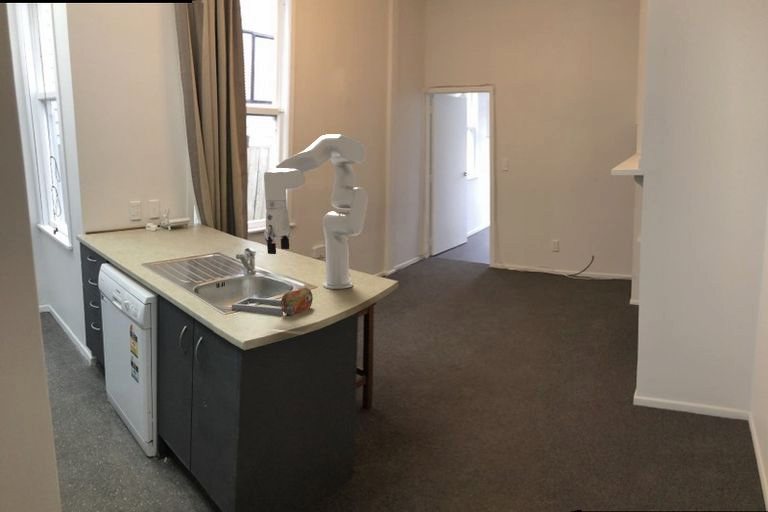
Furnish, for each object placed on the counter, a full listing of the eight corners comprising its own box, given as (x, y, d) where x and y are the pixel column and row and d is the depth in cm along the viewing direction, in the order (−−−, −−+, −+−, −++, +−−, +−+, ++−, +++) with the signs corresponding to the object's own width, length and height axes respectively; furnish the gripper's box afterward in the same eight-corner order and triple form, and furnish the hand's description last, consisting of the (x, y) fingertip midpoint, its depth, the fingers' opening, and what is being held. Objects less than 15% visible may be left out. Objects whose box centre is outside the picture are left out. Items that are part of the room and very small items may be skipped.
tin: (286, 317, 206) (285, 294, 204) (279, 316, 207) (279, 293, 206) (313, 308, 218) (313, 286, 217) (307, 307, 220) (306, 285, 218)
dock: (248, 303, 225) (248, 297, 225) (295, 307, 219) (295, 301, 218) (232, 311, 214) (231, 304, 214) (281, 315, 208) (281, 308, 208)
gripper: (273, 207, 202) (275, 256, 205) (296, 202, 218) (298, 247, 221) (254, 207, 205) (257, 255, 208) (278, 202, 221) (281, 246, 224)
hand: (278, 251), depth 215 cm, fingers open, 9 cm apart
